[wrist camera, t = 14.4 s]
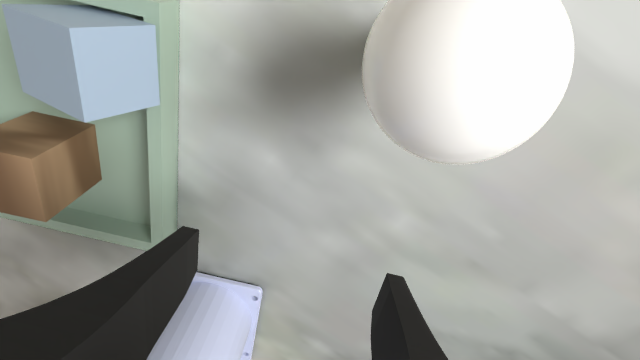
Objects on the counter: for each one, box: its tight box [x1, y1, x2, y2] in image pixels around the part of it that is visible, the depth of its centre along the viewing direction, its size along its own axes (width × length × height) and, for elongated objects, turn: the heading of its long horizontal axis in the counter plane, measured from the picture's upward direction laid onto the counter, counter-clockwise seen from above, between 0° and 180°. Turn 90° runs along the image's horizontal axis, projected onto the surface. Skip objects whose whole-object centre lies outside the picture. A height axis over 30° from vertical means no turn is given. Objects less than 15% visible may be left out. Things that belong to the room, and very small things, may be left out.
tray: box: [0, 0, 179, 251], centre depth 23 cm, size 16×14×2 cm
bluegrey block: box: [2, 4, 160, 123], centre depth 18 cm, size 4×4×5 cm
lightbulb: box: [362, 0, 574, 165], centre depth 14 cm, size 6×6×11 cm
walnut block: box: [0, 111, 102, 222], centre depth 22 cm, size 4×4×5 cm
